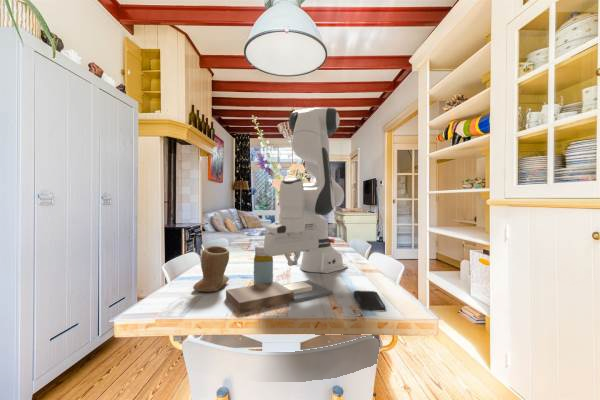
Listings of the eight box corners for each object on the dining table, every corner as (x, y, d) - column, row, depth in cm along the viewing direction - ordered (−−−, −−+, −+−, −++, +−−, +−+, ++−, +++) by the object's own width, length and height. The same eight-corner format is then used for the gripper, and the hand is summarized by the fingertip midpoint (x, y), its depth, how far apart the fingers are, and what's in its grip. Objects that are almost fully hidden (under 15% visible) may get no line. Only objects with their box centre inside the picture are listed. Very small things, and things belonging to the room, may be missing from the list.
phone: (376, 291, 102) (386, 308, 87) (376, 294, 102) (386, 312, 87) (353, 290, 102) (359, 307, 87) (353, 293, 102) (359, 311, 88)
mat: (308, 282, 114) (308, 280, 114) (332, 294, 101) (332, 291, 101) (274, 289, 106) (274, 286, 106) (295, 302, 93) (295, 299, 93)
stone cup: (221, 295, 99) (221, 251, 99) (188, 293, 101) (188, 250, 101) (237, 281, 114) (237, 243, 114) (208, 280, 116) (208, 242, 116)
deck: (275, 289, 105) (275, 281, 105) (293, 301, 94) (293, 292, 94) (225, 299, 96) (225, 290, 96) (239, 313, 85) (239, 302, 85)
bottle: (250, 286, 109) (250, 246, 109) (264, 282, 114) (264, 243, 114) (262, 290, 104) (262, 248, 104) (276, 286, 109) (276, 246, 109)
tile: (303, 285, 107) (303, 281, 107) (312, 290, 102) (312, 286, 102) (281, 289, 102) (281, 285, 102) (289, 294, 97) (289, 290, 97)
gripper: (312, 222, 109) (312, 258, 110) (261, 227, 98) (262, 267, 99) (322, 224, 104) (322, 262, 105) (269, 229, 93) (270, 272, 94)
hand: (292, 265), depth 102 cm, fingers closed
